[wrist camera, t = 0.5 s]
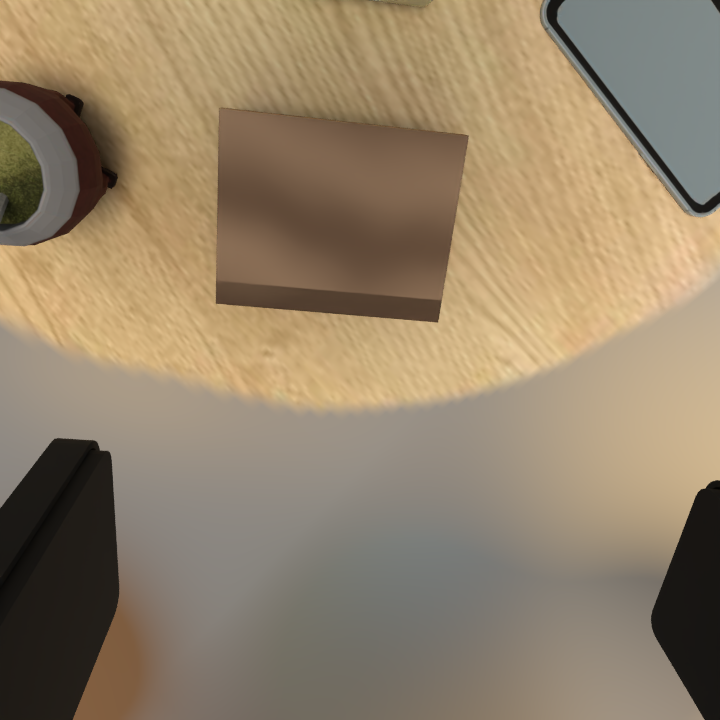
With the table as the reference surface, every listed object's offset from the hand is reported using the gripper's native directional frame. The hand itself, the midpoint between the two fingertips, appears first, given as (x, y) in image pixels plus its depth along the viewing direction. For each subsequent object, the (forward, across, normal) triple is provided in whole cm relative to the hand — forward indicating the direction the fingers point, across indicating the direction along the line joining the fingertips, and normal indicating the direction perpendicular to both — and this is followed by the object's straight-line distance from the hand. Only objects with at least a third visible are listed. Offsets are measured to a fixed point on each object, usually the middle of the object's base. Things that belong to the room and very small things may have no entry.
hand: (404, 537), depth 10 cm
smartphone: (+28, -16, -9) cm, 34 cm away
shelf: (+27, +1, -1) cm, 27 cm away
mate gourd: (+28, +15, -1) cm, 32 cm away
